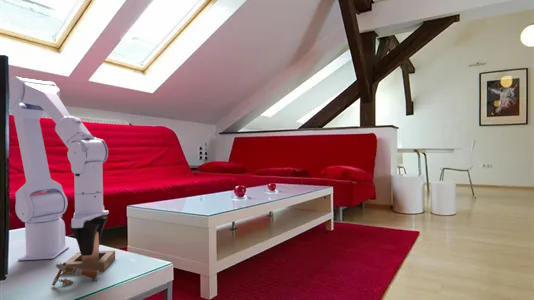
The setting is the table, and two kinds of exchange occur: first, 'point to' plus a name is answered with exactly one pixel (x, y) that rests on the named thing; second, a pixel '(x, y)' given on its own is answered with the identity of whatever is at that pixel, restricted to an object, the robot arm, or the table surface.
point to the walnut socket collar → (91, 262)
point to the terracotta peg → (95, 251)
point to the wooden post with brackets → (73, 270)
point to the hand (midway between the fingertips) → (90, 252)
